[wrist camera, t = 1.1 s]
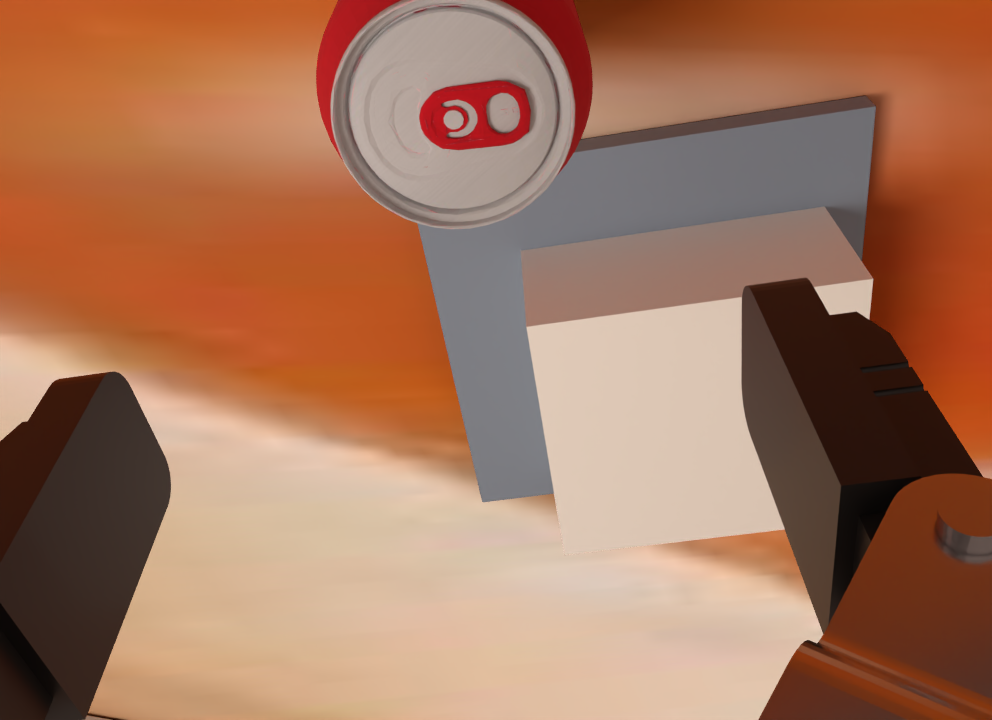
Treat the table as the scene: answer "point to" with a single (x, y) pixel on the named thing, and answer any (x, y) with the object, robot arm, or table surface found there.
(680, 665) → the table surface
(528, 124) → the beverage can
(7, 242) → the table surface
